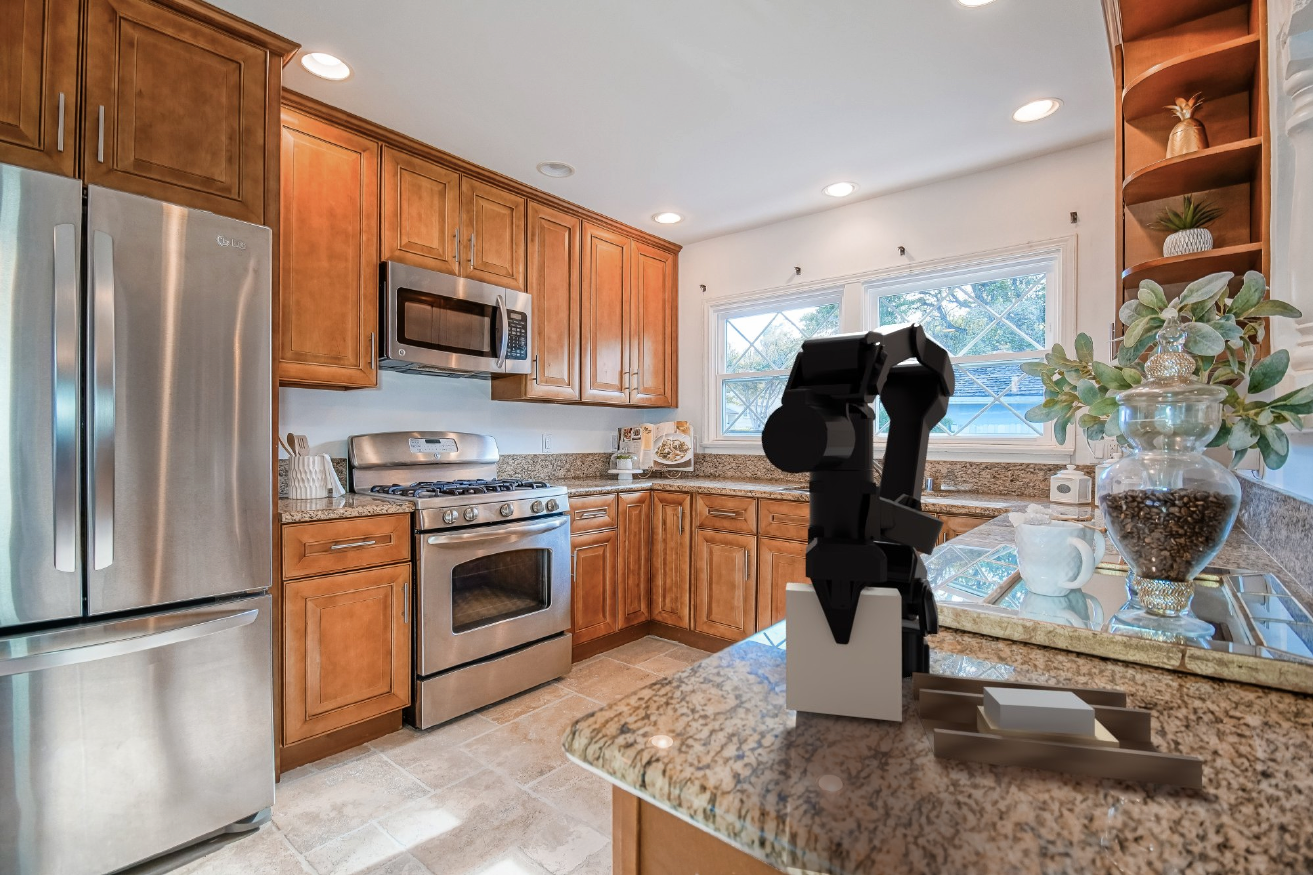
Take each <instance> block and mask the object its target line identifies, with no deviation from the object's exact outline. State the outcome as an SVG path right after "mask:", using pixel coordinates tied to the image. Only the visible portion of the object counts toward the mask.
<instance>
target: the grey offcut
mask: <svg viewBox="0 0 1313 875" xmlns="http://www.w3.org/2000/svg"><path fill="white" fill-rule="evenodd" d="M984 711H985V712H986V713H987V714H988V716H989V717H990V718H991V719H992V720H993V721H994V722H995V724H996V725H997V726H998V727H999V728H1000V729H1007V730H1022V731H1037V732H1053V733H1068V734H1084V735H1095V710H1094V709H1093V708H1092V707H1090V706H1089V705H1088V704H1086V703H1085V702H1084V701H1083V700H1081V699H1080V698H1079V697H1077V696H1076V695H1075V694H1073V693H1072V692H1065V691H1047V690H1030V689H1012V688H994V687H984Z"/></svg>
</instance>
